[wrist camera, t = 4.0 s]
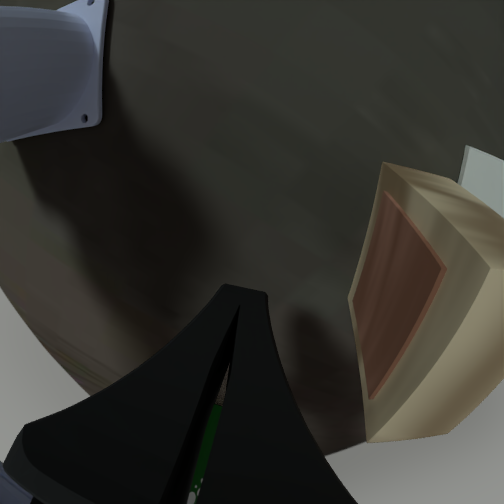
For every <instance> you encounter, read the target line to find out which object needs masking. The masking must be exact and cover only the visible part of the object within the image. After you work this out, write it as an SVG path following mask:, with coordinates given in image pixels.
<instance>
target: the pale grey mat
mask: <svg viewBox="0 0 504 504" xmlns="http://www.w3.org/2000/svg"><path fill="white" fill-rule="evenodd" d="M457 184H459V185H460V186H462V187H463V188H464V189H466V190H467V191H469V192H470V193H471V194H473V195H474V196H476V197H477V198H478V199H480V200H481V201H482V202H484V203H485V204H486V205H488V206H489V207H490V208H491V209H493V210H494V211H495V212H496V213H498V214H499V215H500V216H501V217H503V218H504V161H503V160H501V159H499V158H497V157H494V156H492V155H490V154H487V153H485V152H483V151H480V150H478V149H475V148H473V147H470V146H468V145H466V147H465V152H464V157H463V162H462V166H461V171H460V175H459V179H458V183H457Z"/></svg>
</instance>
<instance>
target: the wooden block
mask: <svg viewBox="0 0 504 504" xmlns="http://www.w3.org/2000/svg"><path fill="white" fill-rule="evenodd" d="M348 302H349V308H350V313H351V319H352V325H353V331H354V337H355V343H356V350H357V357H358V364H359V371H360V379H361V387H362V396H363V405H364V416H365V427H366V441H367V443H375V442H377V443H378V442H390V441H401V440H409V439H418V438H425V437H431V436H437V435H443V434H448V433H449V432H450V431H451V430H452V429H454V427H456V426H457V425H458V424H459V423H460V422H461V421H463V420H464V419H465V418H466V417H467V416H468V415H469V414H470V413H471V412H472V411H473V410H474V409H475V408H476V407H477V406H478V405H479V404H480V403H481V402H482V401H483V400H484V399H485V398H486V397H487V396H488V395H489V394H490V393H491V392H492V390H494V389H495V388H496V386H497V385H498V384H499V383H500V382H501V381H502V380H503V379H504V218H503V217H501V216H500V215H499V214H498V213H496V212H495V211H494V210H493V209H491V208H490V207H489V206H488V205H486V204H485V203H484V202H482V201H481V200H480V199H478V198H477V197H476V196H474V195H473V194H471V193H470V192H469V191H467V190H466V189H464V188H463V187H462V186H460V185H459V184H457V183H456V182H454V181H453V180H451V179H449V178H446V177H442V176H438V175H435V174H431V173H427V172H424V171H420V170H416V169H412V168H408V167H403V166H399V165H395V164H390V163H386V162H382V167H381V172H380V177H379V182H378V187H377V191H376V196H375V201H374V205H373V209H372V213H371V218H370V222H369V226H368V230H367V234H366V237H365V241H364V245H363V249H362V252H361V256H360V259H359V263H358V266H357V270H356V273H355V276H354V280H353V283H352V286H351V289H350V292H349V296H348Z"/></svg>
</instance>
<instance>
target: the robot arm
mask: <svg viewBox="0 0 504 504" xmlns="http://www.w3.org/2000/svg"><path fill="white" fill-rule="evenodd" d="M93 1H94V0H78V1H76V2H73V3H71V4H69V5H67V6H64V7H62V8H60V9H58V10H56V11H55V10H47V9H39V8H28V7H13V6H0V143H1V142H4V141H8V142H9V141H13V140H17V139H21V138H26V137H31V136H35V135H41V134H46V133H51V132H57V131H63V130H70V129H76V128H84V127H92V126H96V125H98V124H99V123H100V122H101V120H102V68H103V50H104V37H105V27H106V18H107V10H108V3H109V0H95V1H94V3H93V4H92V2H93ZM86 115H87V116H88V121H86V119H85V117H86ZM229 363H230V365H229ZM228 365H229V372H228V379H227V387H226V394H225V398H224V402H223V406H222V410H221V414H220V417H219V421H218V425H217V429H216V433H215V436H214V440H213V444H212V447H211V451H210V455H209V458H208V462H207V466H206V469H205V473H204V477H203V480H202V484H201V487H200V491H199V494H198V498H197V501H196V504H358V503H357V502H356V501H355V500H354V498H353V497H352V496H351V495H350V493H349V492H348V490H347V489H346V488H345V487H344V485H343V484H342V482H341V481H340V480H339V478H338V477H337V475H336V474H335V472H334V471H333V469H332V468H331V466H330V465H329V463H328V462H327V460H326V459H325V457H324V455H323V453H322V451H321V450H320V448H319V446H318V445H317V443H316V441H315V439H314V438H313V436H312V434H311V432H310V430H309V429H308V427H307V425H306V423H305V421H304V419H303V416H302V414H301V412H300V410H299V408H298V406H297V403H296V401H295V399H294V397H293V394H292V392H291V389H290V387H289V384H288V381H287V379H286V376H285V373H284V370H283V367H282V364H281V361H280V358H279V354H278V351H277V347H276V343H275V340H274V336H273V331H272V327H271V322H270V316H269V309H268V295H267V294H266V293H265V292H262V291H257V290H253V289H248V288H243V287H239V286H234V285H229V284H224V285H222V286H221V287H220V288H219V290H218V291H217V292H216V294H215V295H214V296H213V298H212V299H211V300H210V301H209V302H208V304H207V305H206V306H205V307H204V308H203V309H202V310H201V311H200V312H199V314H198V315H197V316H196V317H195V318H194V319H193V320H192V321H191V322H190V323H189V324H188V325H187V326H186V327H185V328H184V329H183V330H182V331H181V332H180V333H179V334H177V335H176V336H175V337H174V338H173V339H172V340H171V341H170V342H169V343H167V344H166V345H165V346H164V347H163V348H162V349H161V350H159V351H158V352H157V353H156V354H154V355H153V356H152V357H151V358H149V359H148V360H147V361H145V362H144V363H143V364H141V365H140V366H139V367H137V368H136V369H135V370H133V371H132V372H130V373H129V374H127V375H126V376H124V377H123V378H121V379H120V380H118V381H116V382H115V383H113V384H112V385H110V386H108V387H107V388H105V389H103V390H102V391H100V392H98V393H96V394H94V395H92V396H90V397H88V398H87V399H85V400H83V401H81V402H79V403H77V404H75V405H73V406H71V407H68V408H66V409H64V410H62V411H59V412H57V413H54V414H52V415H49V416H46V417H44V418H41V419H38V420H36V421H33V422H30V423H28V424H25V425H24V427H23V428H22V430H21V431H20V433H19V434H18V435H17V437H16V439H15V441H14V443H13V445H12V447H11V449H10V451H9V453H8V455H7V457H6V459H5V461H4V463H2V462H1V461H0V504H187V501H188V497H189V493H190V489H191V485H192V481H193V477H194V473H195V469H196V465H197V461H198V457H199V453H200V449H201V445H202V442H203V438H204V434H205V430H206V427H207V424H208V421H209V417H210V415H211V412H212V409H213V407H214V404H215V401H216V398H217V396H218V393H219V390H220V388H221V385H222V382H223V379H224V377H225V374H226V371H227V368H228Z"/></svg>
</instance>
